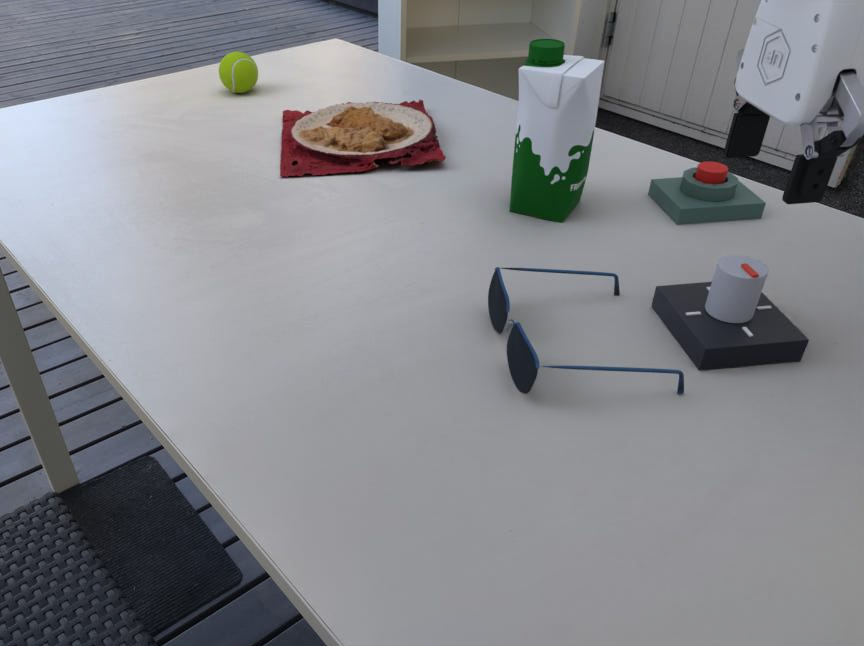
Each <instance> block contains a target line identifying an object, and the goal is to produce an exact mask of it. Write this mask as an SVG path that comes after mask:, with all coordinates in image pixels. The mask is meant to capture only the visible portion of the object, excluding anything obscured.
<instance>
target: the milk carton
mask: <svg viewBox="0 0 864 646" xmlns="http://www.w3.org/2000/svg"><path fill="white" fill-rule="evenodd" d="M565 48H566V43H565V42H564V41H562V40H559V39H555V38H537V39H533V40H531V41H530V42H529V45H528V55H527V56H528V57H527V59H526V60H525V63H523V64H522V65H521V66H519V68H518V102H517V103H518V104H517V115H516V125H515V126H516V127H515V135H514V136H515V137H514V148H513V149H514V150H513V157H512V159H513V160H512V171H511V182H510V183H511V184H510V199H509V212H511V213H516V214H521V215H526V216H530V217H534V218H538V219H541V220H542V219H543V220H547V221H552V222H557V223H561V224H562V223H564V221H565V220H566V219H567V218H568V216H569V215H571V213H572V212H573V210H574V209H575V208H576V207H577V206H578V204H580V202H581V199H582V196H583V192H584V188H585V184H586V181H587V177H588V173H589V166H590V161H591V155H592V149H593V141H594V137H595V129H596V124H597V117H598V110H599V104H600V96H601V90H602V89H601V88H602V81H603V74H604V67H605V63H606V62H605V61H606V60H603V59H595V58H594V59H593V58H588V57H587V58H586V57H584V56H582V55H570V54H565Z"/></svg>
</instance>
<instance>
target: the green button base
mask: <svg viewBox="0 0 864 646" xmlns="http://www.w3.org/2000/svg"><path fill="white" fill-rule="evenodd" d="M696 170H697V166H696V167H690V168H688V169H685V170H684V171H683V173H682V176H680V177H665V178H663V177H662V178H652V179H650V183H649V188H648V193H647V195H648V196H649V197H650V198H651V199H652V200H653V201H654V202H655V203H656V204H657V206H658V207H659V208H660V209H661V210H662V211H663V212H664V213H665V214H666V215H667V217H669V218H670V219H671V221H672V222H674V223H675V224H676V226H680V225H692V224H693V225H694V224H707V223H709V224H710V223H719V222H721V223H722V222H735V221H746V220H749V221H750V220H761V219H762V217H763V214H764V211H765V207H766V205H767V202H766V201H765V200H763V198H761V197H760V196H759V195H757V194H756V193H755V192H754V191H752V190H751V189H750V188H749V187H747V186H746V185H745V184H744V183H743V182H741V181H740V180H739V177H737V176H735V174H733V173H732V172H730V171H728V173H727V176H726V180H725V183H723V184H707V183H703V182H700V181H697V180H696V179H695V174H696Z"/></svg>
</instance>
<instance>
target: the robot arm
mask: <svg viewBox="0 0 864 646" xmlns="http://www.w3.org/2000/svg"><path fill="white" fill-rule="evenodd" d="M754 16H755V17H754V19H753V22H752V25H751V28H750V31H749V34H748V37H747V40H746V43H745V46H744V48H742V49H740V50H739V51H738V52H737V54H736V76H735V79H734V81H733V83H734V89H735V95H736V96H735V98H734V99H733V101H732V110H733V111H734V113H733V116H732V119H731V123H730V127H729V130H728V134H727V138H726V142H725V146H724V149H723V156H725V157H726V158H727V159H736V158H752V157H757V156H759V154H760V153H761V149H762V147H763V142H764V139H765V135H766V132H767V130H768V129H767V128H768V126H769V122H770V119H771V118H772V119H773V120H775V121H777V122H778V123H781V124H782V125H784V126H786V127H793V128H794V127H799V128H800V134H801V143H802V151H803V154H801V153H800V154H796V156H795V158H794V161H793V164H792V167H791V170H790V173H789V175H788V176H789V177H788V179H787V181H786V185H785V187H784V191H783V193H782V196H781V197H782V199H781V200H782V202H784V203H785V204H786V205H798V204H812V203H819V202H821V201H822V200H823V198H824V196H825V193H826V190H827V188H828V185H829V182H830V180H831V177H832V174H833V171H834V169H835V166H836V163H837V162H838V159H839V158H844V157H845V155H847V152H848V151H849V150H851V149H852V148H855V146H856V147H857V146H858V144H859V143H860V140H861V138H862V137H863V136H864V0H761V1H760V2H759V5H758V8H757V11H756V13H755V15H754ZM818 128H826V129H827V135H825V136H824V137H822V138H820V137H819V129H818Z"/></svg>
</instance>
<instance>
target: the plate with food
mask: <svg viewBox="0 0 864 646" xmlns="http://www.w3.org/2000/svg"><path fill="white" fill-rule="evenodd" d="M436 134H437V129H436V124H435V122H434V119H433V117H432V116H431V115H429V113H428V112H427V111H426V108H425V104H424V100H423V99H418V101H415V100H414V99H413V100H411V101H410V102H408V101H407V100H406V101H403V102H400V103H392V102H390V103H389V102H383V101H380V102H379V101H370V102H369V101H367V102H351V101H348V102H346V103H344V102H343V103H340V104H334V105H330V106H327V107H324V108H323V107H322V108H319V109H318V110H317V111H316V110H315V111H310V110H305V111H304V112H302V111H300V110H297V109H295V110H292V109H291V110H290V109H285V110H282V129H281V143H280V149H281V150H280V163H279V164H280V165H279V167H280V168H279V169H280V172H279V176H280V177H285V178H289V177H291V176H292V177H295V176H298V177H303V176H304V175H306V174H311V175H312V176H325V175H329V174H330V175H331V174H333V175H335V174H342V173H355V172H356V173H359V172H368V171H370V170H372V169H377V168H379V164H378V163H376V162H375V160H378V159H379V160H381V159H389V161H388V164H390V165H394V164H397V163H398V164H399V163H400V166H402V167H405V166H406V167H414V166H417V165H423V164H424V165H427V164H428V163H431V162H432V161H433V162H438V164H439V163H441V162H443V161H445V160H446V158H447V156H446V155H445V154H444V152H443V151H442V148H441V145H440V142H439V140H438V138H439V136H438V135H436ZM405 155H407V156H405ZM404 156H405V157H404ZM399 157H400V158H399ZM295 161H296V162H297V164H295V165H293V163H294V162H295Z"/></svg>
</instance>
